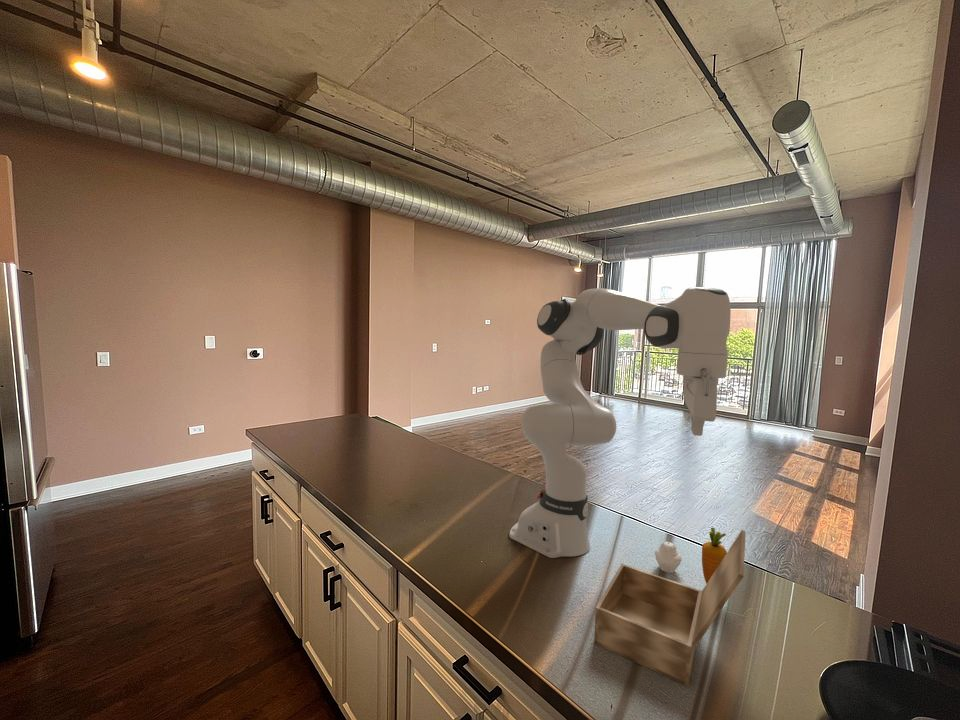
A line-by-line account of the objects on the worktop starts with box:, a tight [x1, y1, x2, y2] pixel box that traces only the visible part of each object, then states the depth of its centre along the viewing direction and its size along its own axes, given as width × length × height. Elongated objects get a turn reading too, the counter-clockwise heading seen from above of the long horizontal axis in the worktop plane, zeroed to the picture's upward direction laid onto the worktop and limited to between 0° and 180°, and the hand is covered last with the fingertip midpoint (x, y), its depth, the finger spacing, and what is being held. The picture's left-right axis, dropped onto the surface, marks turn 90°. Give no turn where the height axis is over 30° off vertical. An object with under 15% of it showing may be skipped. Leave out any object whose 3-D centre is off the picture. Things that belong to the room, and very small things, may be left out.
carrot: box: [701, 527, 728, 585], centre depth 91 cm, size 5×5×15 cm
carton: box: [593, 563, 703, 688], centre depth 78 cm, size 16×18×7 cm
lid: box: [692, 529, 746, 648], centre depth 71 cm, size 16×18×1 cm
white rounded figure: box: [654, 541, 682, 574], centre depth 100 cm, size 6×6×7 cm
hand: (696, 433), depth 82 cm, fingers closed
